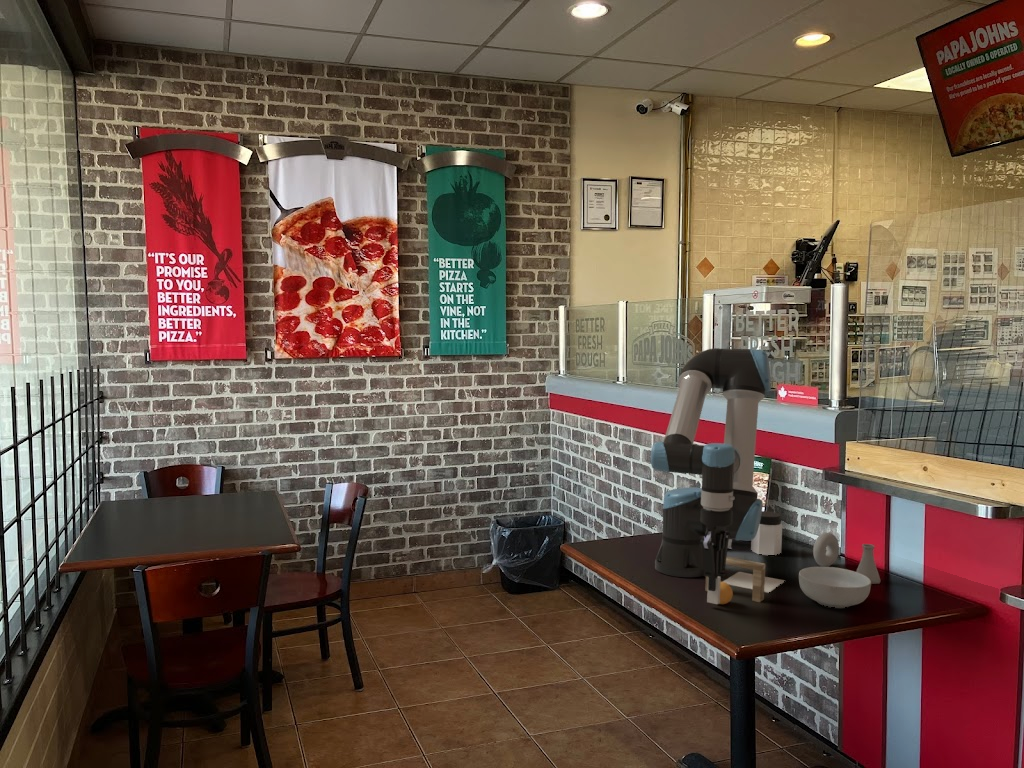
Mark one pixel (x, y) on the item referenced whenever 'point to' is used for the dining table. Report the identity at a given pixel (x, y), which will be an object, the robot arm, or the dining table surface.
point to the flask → (868, 564)
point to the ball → (725, 593)
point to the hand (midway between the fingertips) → (713, 602)
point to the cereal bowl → (834, 586)
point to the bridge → (757, 576)
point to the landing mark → (747, 581)
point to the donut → (820, 548)
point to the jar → (768, 535)
